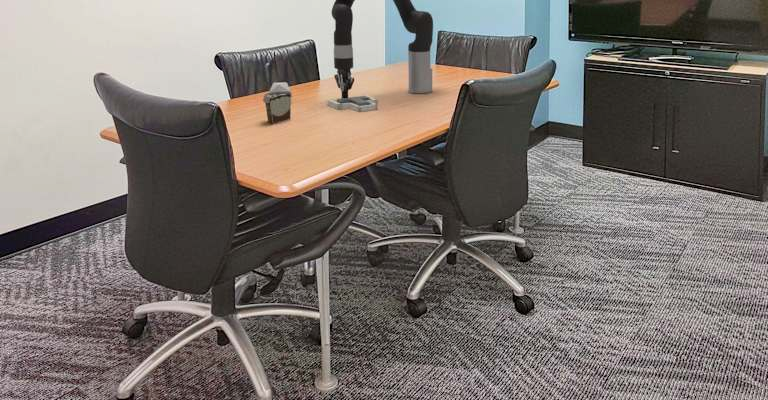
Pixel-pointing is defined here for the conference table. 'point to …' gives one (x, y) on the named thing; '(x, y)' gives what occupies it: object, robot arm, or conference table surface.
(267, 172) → the conference table surface
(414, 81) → the robot arm
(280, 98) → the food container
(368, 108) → the t dock
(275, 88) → the grey rounded block
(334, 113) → the conference table surface
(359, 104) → the t block
